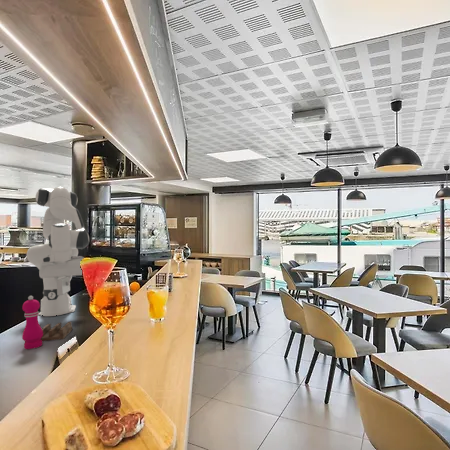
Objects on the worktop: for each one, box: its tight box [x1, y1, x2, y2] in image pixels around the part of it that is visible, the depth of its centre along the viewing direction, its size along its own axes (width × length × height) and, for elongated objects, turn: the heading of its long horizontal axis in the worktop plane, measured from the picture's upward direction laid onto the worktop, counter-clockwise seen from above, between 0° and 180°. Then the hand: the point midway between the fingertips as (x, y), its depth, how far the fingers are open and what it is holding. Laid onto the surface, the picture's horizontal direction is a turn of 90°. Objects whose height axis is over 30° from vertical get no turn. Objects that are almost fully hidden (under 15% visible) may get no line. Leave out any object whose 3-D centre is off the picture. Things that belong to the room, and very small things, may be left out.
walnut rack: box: [40, 321, 74, 342], centre depth 148 cm, size 14×15×4 cm
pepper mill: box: [21, 295, 43, 350], centre depth 135 cm, size 7×7×20 cm
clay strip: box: [57, 276, 71, 295], centre depth 164 cm, size 12×2×7 cm, turn 9°
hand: (63, 285), depth 164 cm, fingers closed on clay strip, 2 cm apart
